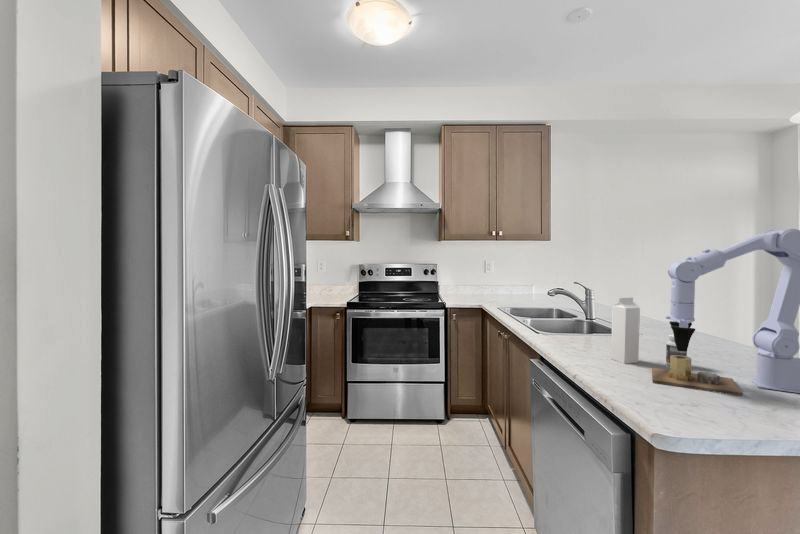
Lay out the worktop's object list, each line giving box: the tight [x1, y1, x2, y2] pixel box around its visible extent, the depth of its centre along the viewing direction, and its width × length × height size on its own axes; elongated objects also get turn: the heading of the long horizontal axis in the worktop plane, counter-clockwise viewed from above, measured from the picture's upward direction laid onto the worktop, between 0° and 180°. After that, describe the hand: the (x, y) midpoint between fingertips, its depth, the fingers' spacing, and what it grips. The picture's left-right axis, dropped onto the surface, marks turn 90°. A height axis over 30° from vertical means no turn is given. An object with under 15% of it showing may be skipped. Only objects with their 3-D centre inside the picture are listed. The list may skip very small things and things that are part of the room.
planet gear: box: [667, 355, 693, 381], centre depth 119 cm, size 6×6×6 cm
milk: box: [610, 296, 641, 364], centre depth 139 cm, size 6×6×22 cm
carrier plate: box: [651, 367, 743, 397], centre depth 118 cm, size 20×14×4 cm
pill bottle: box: [665, 333, 688, 366], centre depth 134 cm, size 6×6×10 cm
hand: (680, 348), depth 119 cm, fingers open, 7 cm apart
